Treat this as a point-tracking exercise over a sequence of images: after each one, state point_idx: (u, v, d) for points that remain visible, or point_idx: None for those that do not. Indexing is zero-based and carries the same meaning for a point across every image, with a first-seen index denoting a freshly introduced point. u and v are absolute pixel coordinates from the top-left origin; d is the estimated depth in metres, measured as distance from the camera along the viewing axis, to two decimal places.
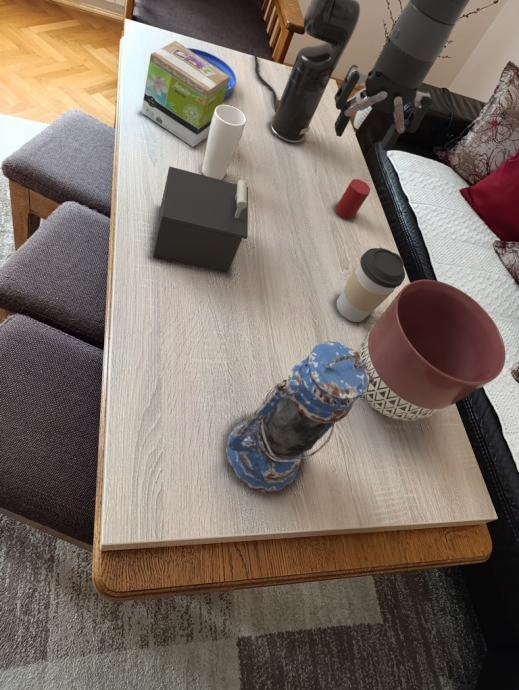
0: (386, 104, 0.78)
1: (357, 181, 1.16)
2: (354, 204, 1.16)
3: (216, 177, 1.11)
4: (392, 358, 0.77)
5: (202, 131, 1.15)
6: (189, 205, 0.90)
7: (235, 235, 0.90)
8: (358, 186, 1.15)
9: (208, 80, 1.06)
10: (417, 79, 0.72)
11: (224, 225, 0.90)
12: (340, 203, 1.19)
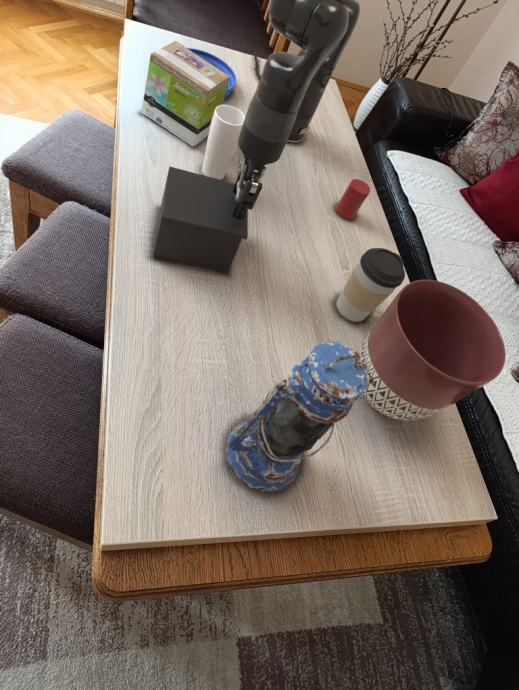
0: None
1: (357, 181, 1.16)
2: (354, 204, 1.16)
3: (216, 177, 1.11)
4: (392, 358, 0.77)
5: (202, 131, 1.15)
6: (189, 205, 0.90)
7: (235, 235, 0.90)
8: (358, 186, 1.15)
9: (208, 80, 1.06)
10: (242, 140, 0.80)
11: (224, 225, 0.90)
12: (340, 203, 1.19)
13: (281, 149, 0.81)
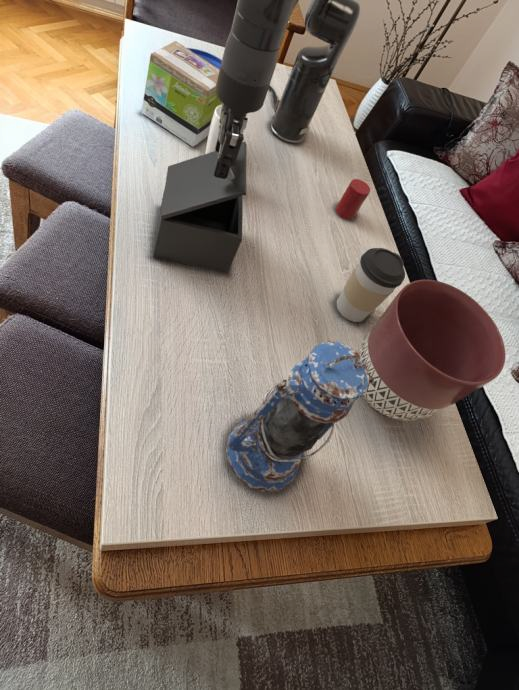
0: None
1: (357, 181, 1.16)
2: (354, 204, 1.16)
3: None
4: (392, 358, 0.77)
5: (202, 131, 1.15)
6: (185, 192, 0.87)
7: (233, 197, 0.83)
8: (358, 186, 1.15)
9: (208, 80, 1.06)
10: (219, 87, 0.73)
11: (220, 193, 0.84)
12: (340, 203, 1.19)
13: (263, 95, 0.73)
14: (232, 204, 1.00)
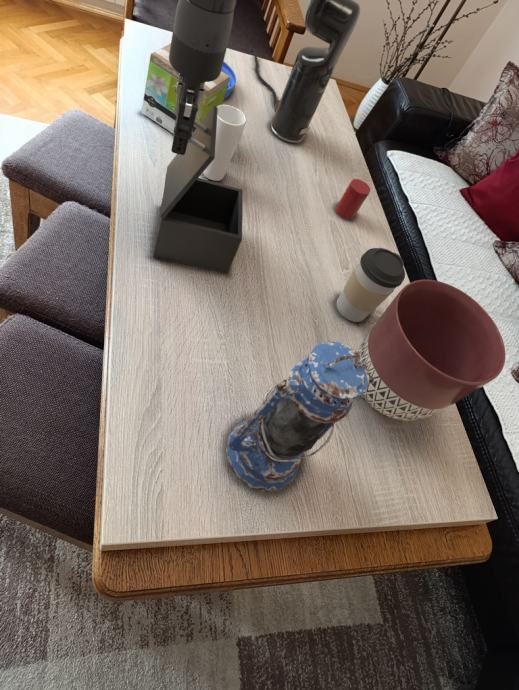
0: (181, 93, 0.75)
1: (357, 181, 1.16)
2: (354, 204, 1.16)
3: (216, 177, 1.11)
4: (392, 358, 0.77)
5: None
6: (175, 183, 0.86)
7: (204, 166, 0.78)
8: (358, 186, 1.15)
9: None
10: (172, 53, 0.69)
11: (195, 169, 0.80)
12: (340, 203, 1.19)
13: (218, 63, 0.69)
14: (232, 204, 1.00)
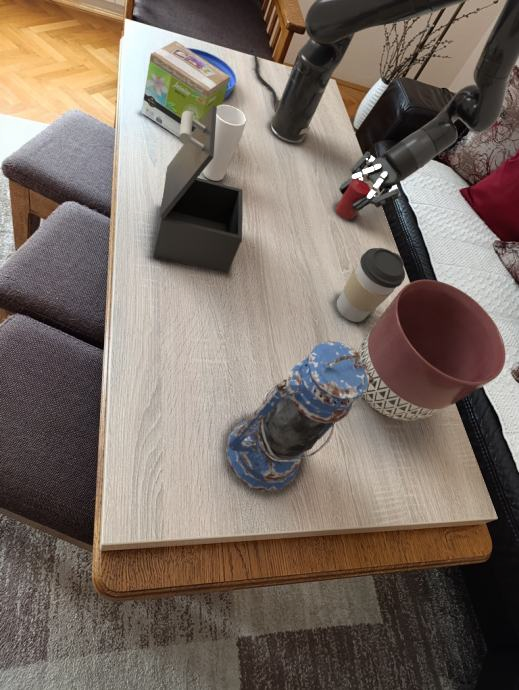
0: None
1: (357, 181, 1.16)
2: None
3: (216, 177, 1.11)
4: (392, 358, 0.77)
5: None
6: (175, 183, 0.86)
7: (203, 166, 0.78)
8: (358, 186, 1.15)
9: (208, 80, 1.06)
10: None
11: (194, 168, 0.80)
12: (340, 203, 1.19)
13: (395, 146, 1.12)
14: (232, 204, 1.00)
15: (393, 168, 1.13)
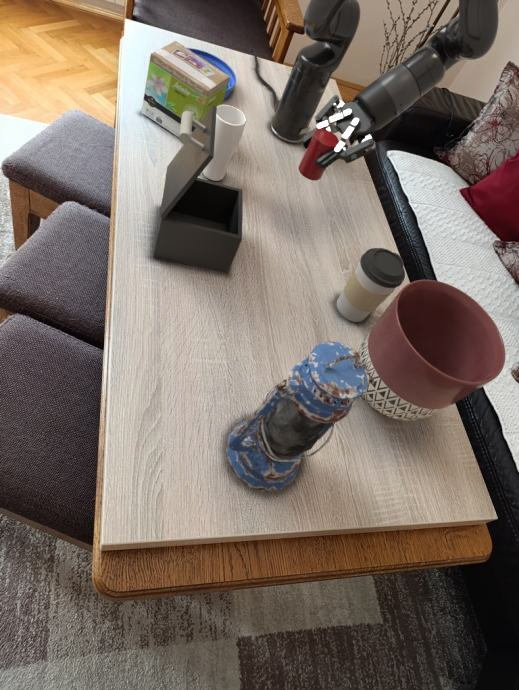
0: None
1: (323, 131, 0.94)
2: None
3: (216, 177, 1.11)
4: (392, 358, 0.77)
5: None
6: (175, 183, 0.86)
7: (203, 166, 0.78)
8: (324, 136, 0.93)
9: (208, 80, 1.06)
10: None
11: (194, 168, 0.80)
12: (303, 160, 0.97)
13: (369, 85, 0.91)
14: (232, 204, 1.00)
15: (366, 114, 0.91)
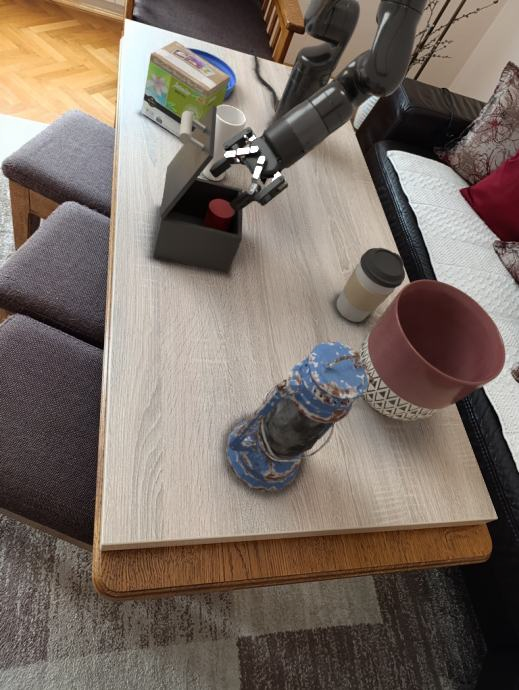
0: None
1: (219, 202, 0.95)
2: (216, 229, 0.96)
3: None
4: (392, 358, 0.77)
5: None
6: (175, 183, 0.86)
7: (203, 166, 0.78)
8: (219, 207, 0.95)
9: (208, 80, 1.06)
10: None
11: (194, 168, 0.80)
12: None
13: (275, 122, 0.86)
14: None
15: (273, 152, 0.87)
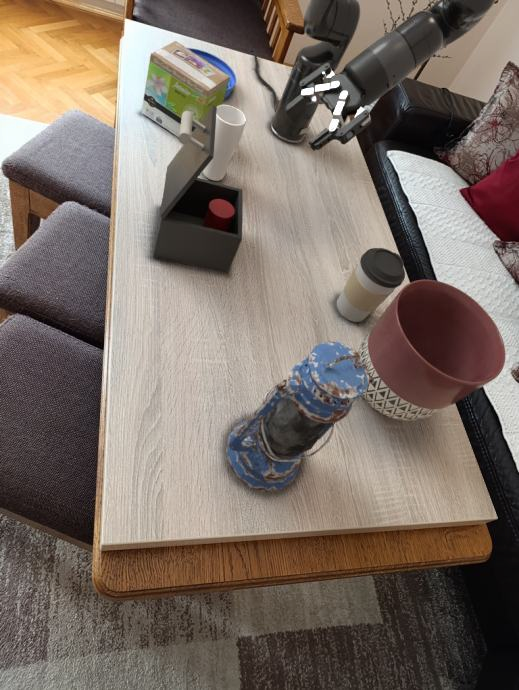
0: None
1: (219, 202, 0.95)
2: (216, 229, 0.96)
3: (216, 177, 1.11)
4: (392, 358, 0.77)
5: None
6: (175, 183, 0.86)
7: (203, 166, 0.78)
8: (219, 207, 0.95)
9: (208, 80, 1.06)
10: None
11: (194, 168, 0.80)
12: None
13: (358, 55, 0.82)
14: (232, 204, 1.00)
15: (356, 86, 0.83)
